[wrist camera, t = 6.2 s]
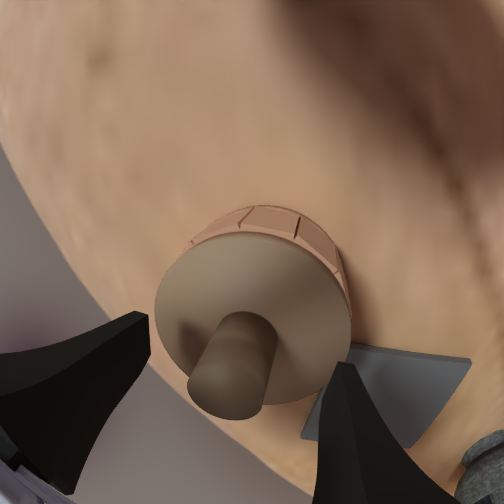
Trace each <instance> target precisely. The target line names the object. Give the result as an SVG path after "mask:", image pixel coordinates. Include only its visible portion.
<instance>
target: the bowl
mask: <svg viewBox="0 0 504 504" xmlns="http://www.w3.org/2000/svg"><path fill="white" fill-rule="evenodd" d="M239 231H251V232H261V233H267V234H272V235H275V236H279V237H282V238H285V239H288V240H290V241H292V242H294V243H296V244H299V245H300V246H302V247H303V248H305V249H307V250H308V251H310V252H311V253H313V254H314V255H315V256H316V257H318V258H319V259H320V260H321V261H322V262H323V263H324V264H325V265H326V266H327V267H328V268H329V269H330V270H331V271H332V273H333V274H334V276H335V277H336V279H337V280H338V281H339V283H340V285H341V287H342V289H343V291H344V294H345V297H346V300H347V303H348V308H349V315H350V323H351V320H352V312H351V305H350V298H349V292H348V286H347V281H346V278H345V274H344V271H343V267H342V262H341V258H340V256H339V253H338V250H337V248H336V246H335V244H334V243H333V241H332V240H331V239H330V237H329V236H328V235H327V233H326V232H325V231H324V230H323V229H322V228H321V227H320V226H319V225H318V224H316V223H315V222H314V221H312V220H311V219H309V218H308V217H306V216H304V215H302V214H301V213H298V212H296V211H293V210H291V209H287V208H283V207H279V206H271V205H258V206H251V207H246V208H243V209H239V210H237V211H235V212H232V213H230V214H228V215H227V216H225V217H223V218H220V219H217V220H216V221H214V222H213V223H212V224H210V225H209V226H208V227H207V228H205V229H204V230H203V231H202V232H200V233H199V234H198V235H197V236H196V237H194V238H193V239H192V240H191V241H190V242H189V243H188V244H187V246H186V247H185V249H184V250H183V251H182V253H181V254H180V256H179V257H178V258H177V260H178V259H179V258H180V257H181V256H182V255H183V254H184V253H186V252H187V251H188V250H189V249H191V248H192V247H193V246H195V245H196V244H198V243H200V242H202V241H203V240H206V239H208V238H211V237H213V236H216V235H220V234H224V233H229V232H239ZM177 260H176V261H177Z"/></svg>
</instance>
